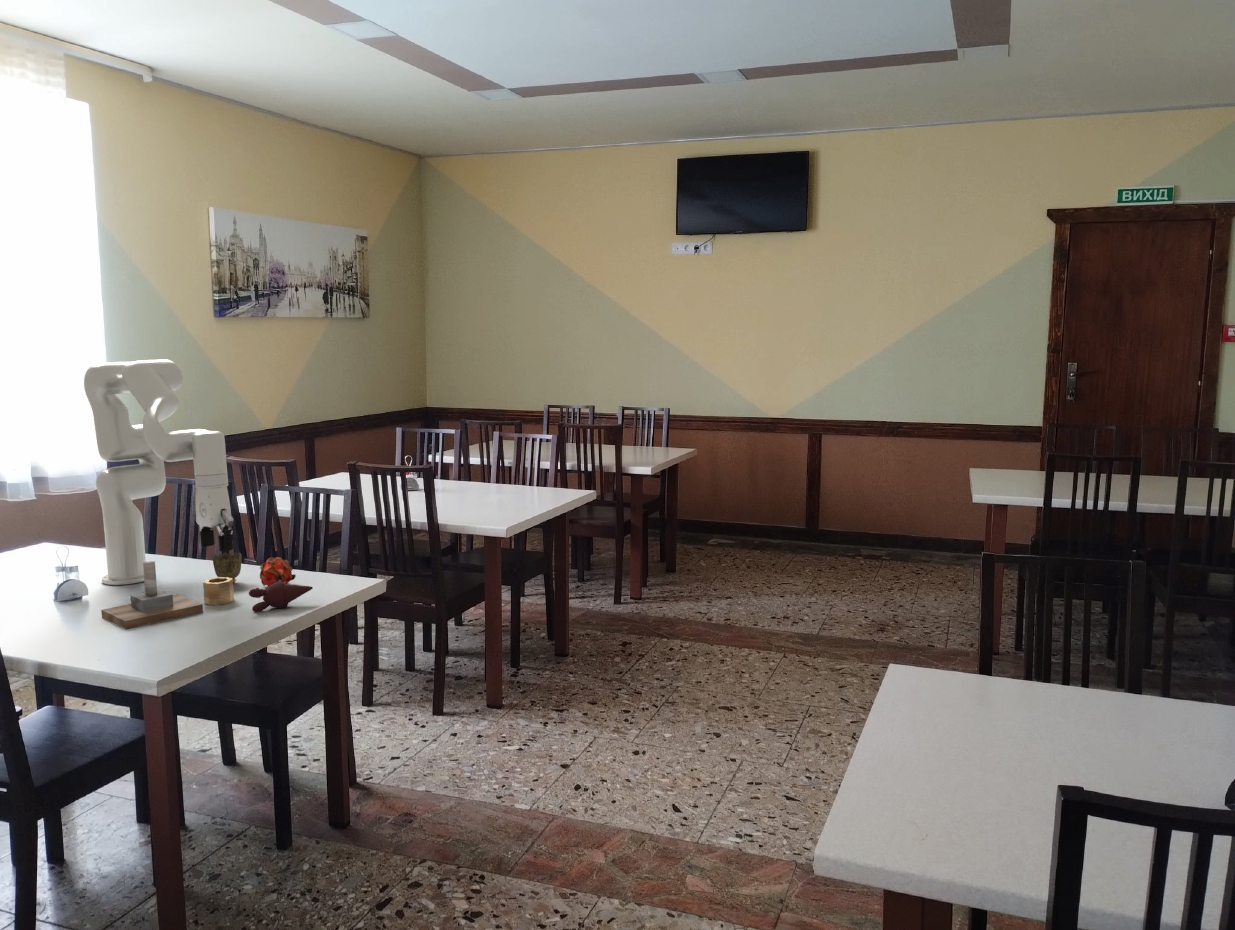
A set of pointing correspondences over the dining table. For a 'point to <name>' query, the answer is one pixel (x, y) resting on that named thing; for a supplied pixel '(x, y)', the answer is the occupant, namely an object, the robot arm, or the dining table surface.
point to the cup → (227, 565)
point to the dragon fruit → (276, 571)
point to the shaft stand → (151, 605)
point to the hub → (218, 591)
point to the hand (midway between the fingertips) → (217, 548)
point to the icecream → (277, 595)
